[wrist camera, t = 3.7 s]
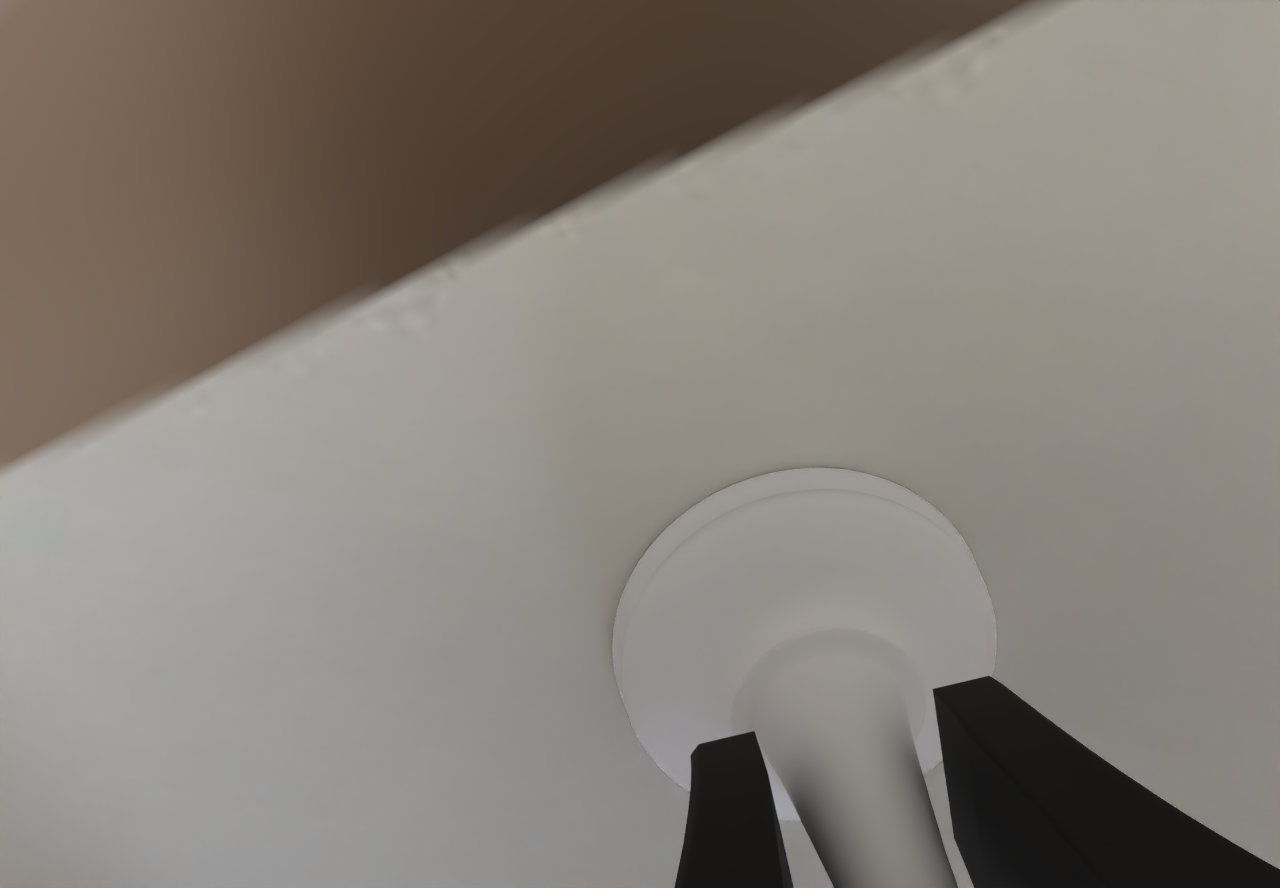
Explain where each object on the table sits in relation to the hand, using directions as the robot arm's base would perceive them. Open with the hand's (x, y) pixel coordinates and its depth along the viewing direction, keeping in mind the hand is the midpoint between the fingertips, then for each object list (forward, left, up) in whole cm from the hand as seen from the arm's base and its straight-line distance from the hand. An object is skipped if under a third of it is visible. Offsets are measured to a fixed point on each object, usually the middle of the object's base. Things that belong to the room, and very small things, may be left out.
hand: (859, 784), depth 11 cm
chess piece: (0, 0, -3) cm, 3 cm away
